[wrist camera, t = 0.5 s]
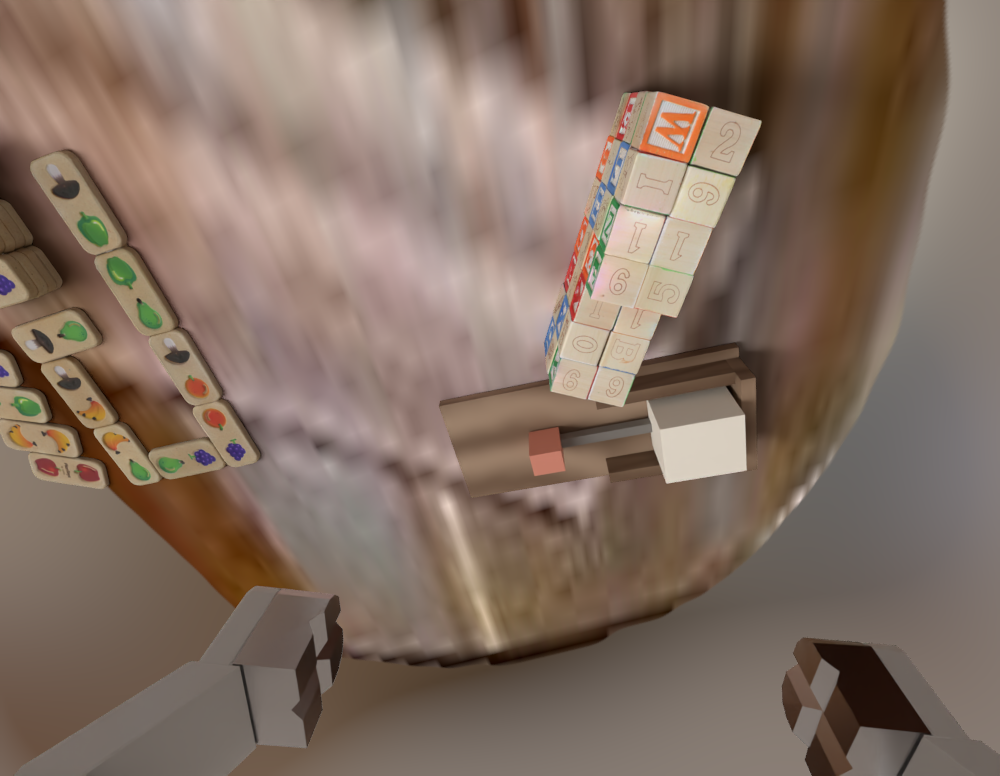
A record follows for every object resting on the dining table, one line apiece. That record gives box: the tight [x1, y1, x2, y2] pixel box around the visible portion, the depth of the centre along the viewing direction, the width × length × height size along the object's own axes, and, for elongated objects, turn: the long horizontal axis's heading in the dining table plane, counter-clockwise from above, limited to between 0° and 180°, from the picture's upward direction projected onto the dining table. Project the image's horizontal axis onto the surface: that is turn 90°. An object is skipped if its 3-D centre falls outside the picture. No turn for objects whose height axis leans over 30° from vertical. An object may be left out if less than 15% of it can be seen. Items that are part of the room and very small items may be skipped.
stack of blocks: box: [544, 91, 762, 407], centre depth 39 cm, size 21×6×12 cm, turn 166°
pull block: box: [529, 386, 747, 484], centre depth 50 cm, size 6×19×6 cm, turn 104°
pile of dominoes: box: [0, 150, 261, 489], centre depth 50 cm, size 35×27×6 cm
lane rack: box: [439, 343, 757, 498], centre depth 52 cm, size 12×28×5 cm, turn 104°
